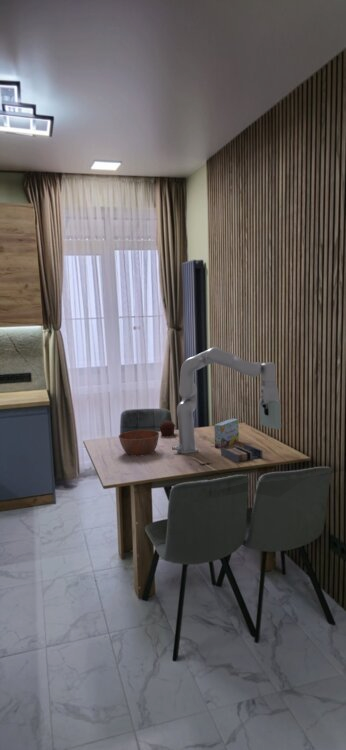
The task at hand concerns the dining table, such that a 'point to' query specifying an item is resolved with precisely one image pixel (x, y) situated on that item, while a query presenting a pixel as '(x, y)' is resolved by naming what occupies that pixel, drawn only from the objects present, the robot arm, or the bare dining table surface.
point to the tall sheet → (271, 415)
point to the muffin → (167, 428)
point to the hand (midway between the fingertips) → (269, 414)
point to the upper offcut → (238, 452)
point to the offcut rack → (250, 450)
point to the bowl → (139, 442)
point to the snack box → (226, 433)
